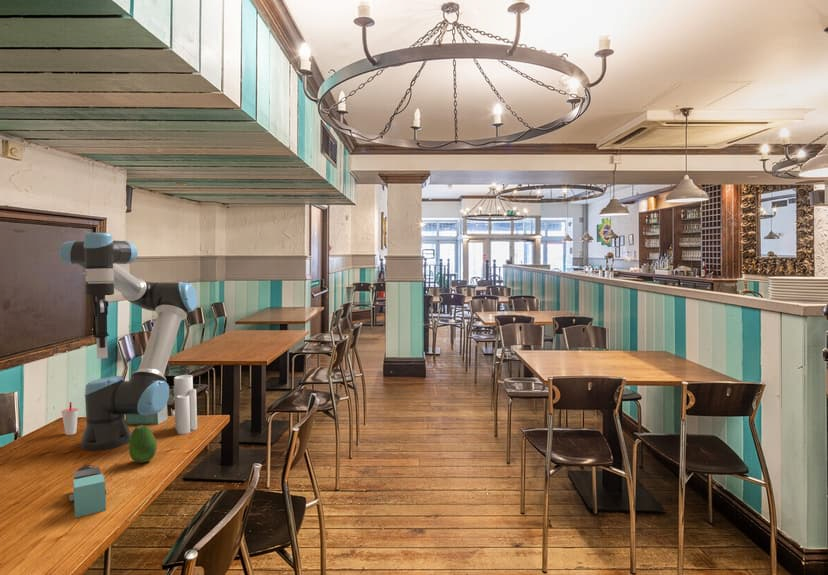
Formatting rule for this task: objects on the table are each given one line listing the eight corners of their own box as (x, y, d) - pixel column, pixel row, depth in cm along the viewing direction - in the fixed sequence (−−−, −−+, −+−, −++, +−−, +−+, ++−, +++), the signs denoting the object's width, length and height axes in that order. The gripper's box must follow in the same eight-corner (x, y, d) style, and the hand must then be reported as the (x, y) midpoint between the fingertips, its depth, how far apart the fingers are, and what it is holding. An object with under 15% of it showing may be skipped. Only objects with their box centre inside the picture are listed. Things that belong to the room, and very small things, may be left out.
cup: (82, 432, 193) (81, 400, 193) (69, 436, 188) (67, 404, 187) (72, 430, 195) (71, 399, 194) (58, 435, 190) (57, 403, 189)
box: (136, 418, 210) (136, 400, 210) (168, 419, 209) (167, 401, 209) (125, 424, 203) (124, 405, 202) (158, 425, 202) (157, 406, 201)
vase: (173, 427, 198) (172, 376, 197) (193, 423, 202) (192, 374, 201) (178, 435, 189) (177, 382, 188) (199, 431, 193) (197, 379, 192)
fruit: (158, 463, 162) (157, 426, 161) (130, 469, 157) (128, 431, 157) (156, 455, 168) (154, 420, 168) (128, 460, 164) (127, 424, 164)
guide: (69, 496, 139) (68, 473, 139) (104, 488, 144) (104, 465, 143) (69, 503, 135) (68, 478, 135) (106, 494, 140) (105, 471, 140)
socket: (74, 508, 132) (73, 479, 132) (103, 501, 136) (102, 473, 136) (75, 517, 127) (74, 487, 127) (105, 510, 131) (104, 481, 131)
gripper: (84, 282, 161) (86, 356, 162) (86, 283, 150) (89, 362, 151) (111, 281, 165) (114, 353, 166) (115, 282, 155) (118, 359, 156)
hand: (102, 357), depth 159 cm, fingers closed
